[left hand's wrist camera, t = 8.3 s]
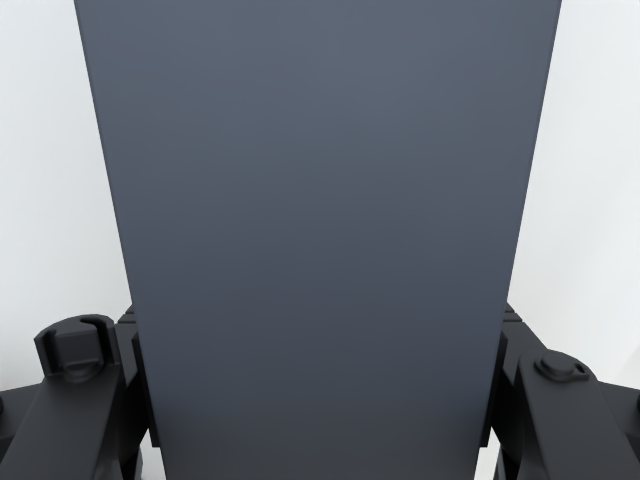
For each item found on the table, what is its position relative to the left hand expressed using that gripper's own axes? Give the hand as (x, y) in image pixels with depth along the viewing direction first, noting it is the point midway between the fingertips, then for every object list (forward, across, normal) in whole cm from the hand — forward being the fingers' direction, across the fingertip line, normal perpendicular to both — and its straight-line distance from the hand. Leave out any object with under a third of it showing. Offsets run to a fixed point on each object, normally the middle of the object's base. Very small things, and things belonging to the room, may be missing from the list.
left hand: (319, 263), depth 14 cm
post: (+1, 0, -30) cm, 31 cm away
